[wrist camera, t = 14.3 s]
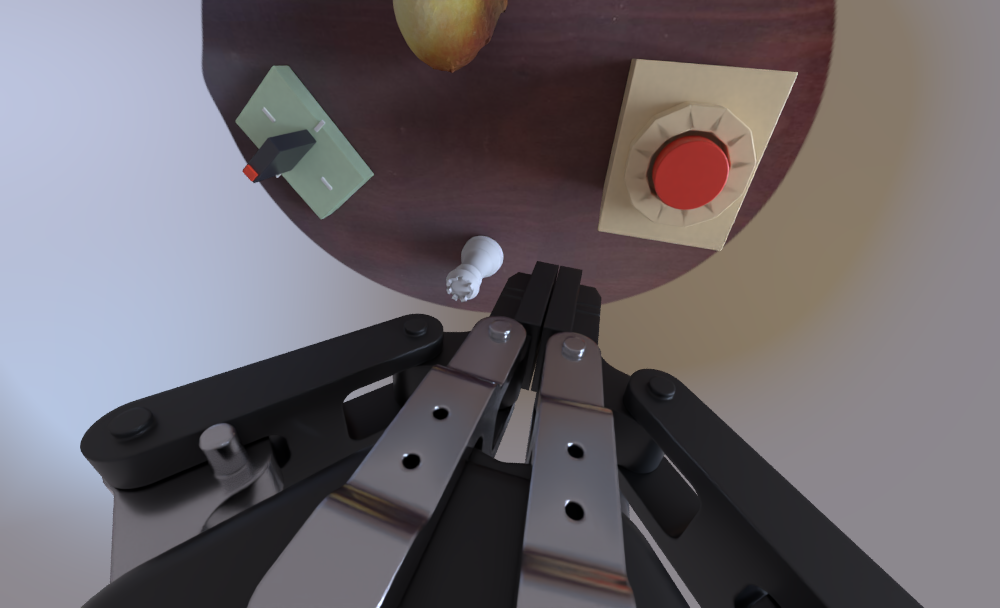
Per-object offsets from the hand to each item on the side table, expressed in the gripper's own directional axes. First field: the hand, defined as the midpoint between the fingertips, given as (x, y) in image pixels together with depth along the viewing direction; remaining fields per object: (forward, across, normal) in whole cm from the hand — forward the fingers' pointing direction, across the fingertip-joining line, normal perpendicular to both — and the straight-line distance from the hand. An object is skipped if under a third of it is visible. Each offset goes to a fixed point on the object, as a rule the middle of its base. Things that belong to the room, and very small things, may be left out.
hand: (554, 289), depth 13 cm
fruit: (+25, +12, -9) cm, 29 cm away
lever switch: (+25, +28, +4) cm, 38 cm away
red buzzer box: (+25, -6, -2) cm, 25 cm away
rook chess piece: (+25, +9, +12) cm, 29 cm away
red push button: (+13, -5, -2) cm, 14 cm away
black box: (+23, +28, +4) cm, 37 cm away
